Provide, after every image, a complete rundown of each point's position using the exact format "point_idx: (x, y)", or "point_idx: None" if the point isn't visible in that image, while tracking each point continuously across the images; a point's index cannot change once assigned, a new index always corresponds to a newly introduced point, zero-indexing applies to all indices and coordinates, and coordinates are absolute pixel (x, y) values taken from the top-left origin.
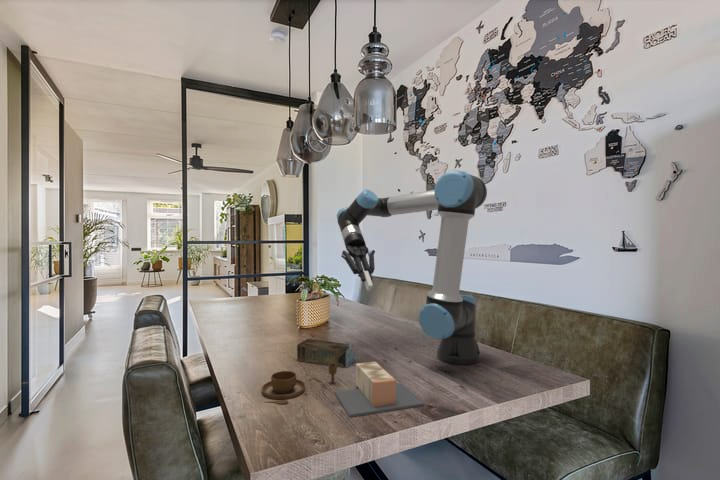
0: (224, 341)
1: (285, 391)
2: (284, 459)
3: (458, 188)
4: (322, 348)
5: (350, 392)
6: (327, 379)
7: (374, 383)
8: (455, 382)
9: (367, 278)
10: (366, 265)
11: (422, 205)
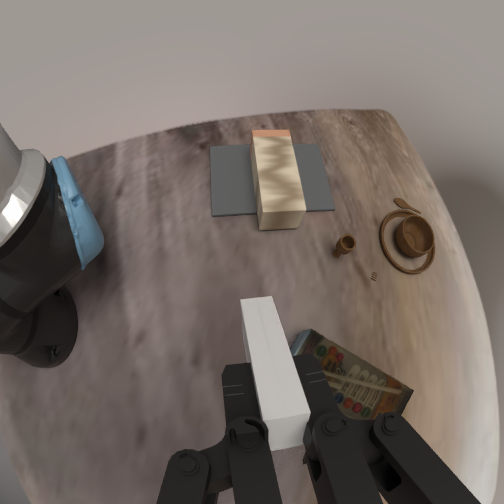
0: (480, 482)
1: (404, 229)
2: (371, 111)
3: None
4: (364, 361)
5: (310, 199)
6: (344, 273)
7: (287, 130)
8: (117, 208)
9: (276, 343)
10: (269, 499)
11: None
